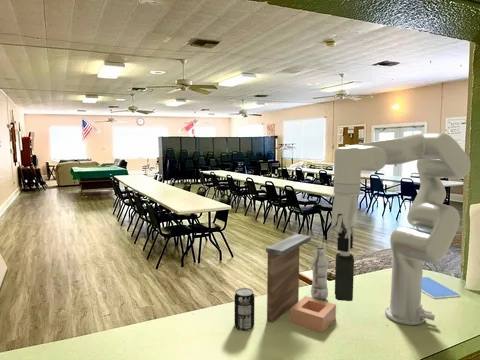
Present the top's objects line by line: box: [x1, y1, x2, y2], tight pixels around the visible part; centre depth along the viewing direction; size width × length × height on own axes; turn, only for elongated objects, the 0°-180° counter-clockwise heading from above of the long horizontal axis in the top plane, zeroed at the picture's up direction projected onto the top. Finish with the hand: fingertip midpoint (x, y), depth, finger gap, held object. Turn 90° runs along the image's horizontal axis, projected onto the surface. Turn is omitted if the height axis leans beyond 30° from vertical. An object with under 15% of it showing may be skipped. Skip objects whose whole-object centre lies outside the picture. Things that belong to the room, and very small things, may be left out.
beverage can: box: [234, 287, 255, 331], centre depth 117 cm, size 7×7×12 cm
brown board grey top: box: [265, 233, 312, 324], centre depth 125 cm, size 6×22×26 cm, turn 145°
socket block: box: [290, 295, 337, 334], centre depth 121 cm, size 12×12×5 cm
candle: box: [334, 226, 355, 302], centre depth 107 cm, size 5×5×25 cm
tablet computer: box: [421, 276, 461, 300], centre depth 148 cm, size 19×13×1 cm, turn 10°
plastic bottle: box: [310, 246, 330, 301], centre depth 137 cm, size 6×7×20 cm
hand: (345, 248), depth 106 cm, fingers closed on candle, 3 cm apart
